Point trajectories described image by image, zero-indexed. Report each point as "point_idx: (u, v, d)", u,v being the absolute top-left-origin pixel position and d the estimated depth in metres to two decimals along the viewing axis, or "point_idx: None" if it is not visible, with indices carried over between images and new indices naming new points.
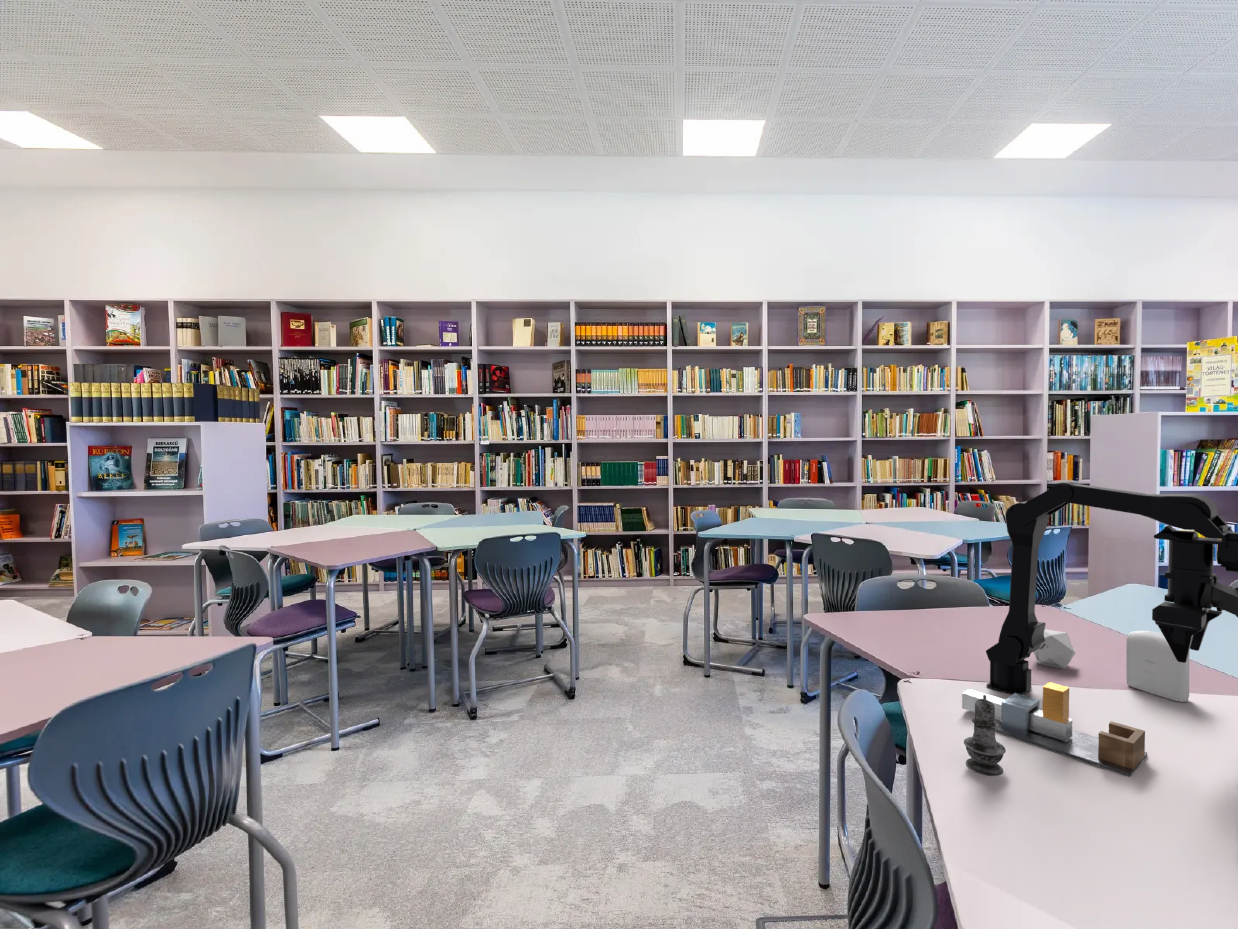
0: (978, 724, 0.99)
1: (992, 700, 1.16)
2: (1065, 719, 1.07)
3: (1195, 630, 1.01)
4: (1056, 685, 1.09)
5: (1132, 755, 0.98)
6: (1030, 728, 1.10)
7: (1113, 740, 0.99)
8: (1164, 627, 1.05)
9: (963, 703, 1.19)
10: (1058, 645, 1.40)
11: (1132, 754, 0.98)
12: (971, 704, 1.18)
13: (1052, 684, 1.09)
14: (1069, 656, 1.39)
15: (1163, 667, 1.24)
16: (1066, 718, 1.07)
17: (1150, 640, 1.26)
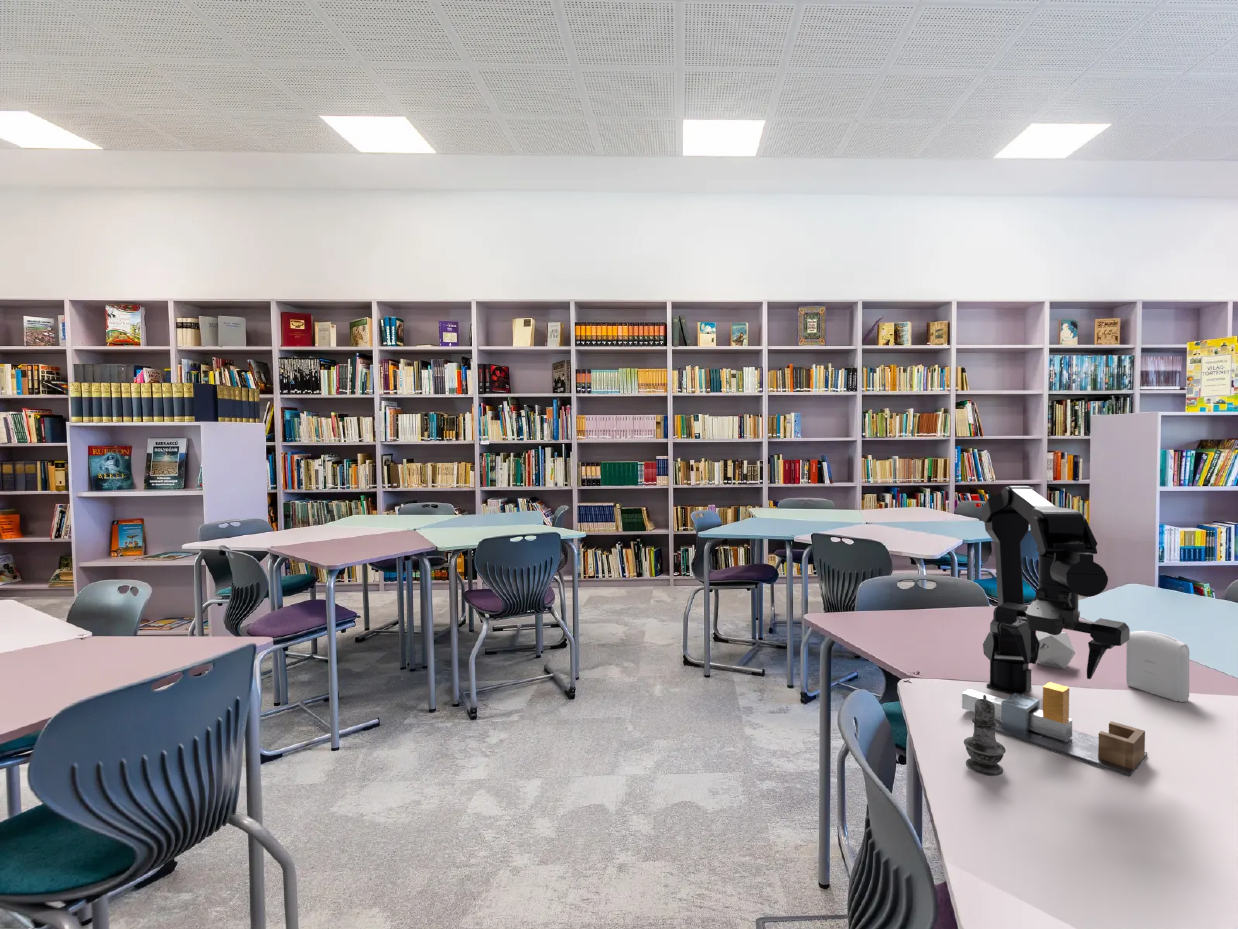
0: (978, 724, 0.99)
1: (992, 700, 1.16)
2: (1065, 719, 1.07)
3: (1001, 625, 1.13)
4: (1056, 685, 1.09)
5: (1132, 755, 0.98)
6: (1030, 728, 1.10)
7: (1113, 740, 0.99)
8: None
9: (963, 703, 1.19)
10: (1058, 645, 1.40)
11: (1132, 754, 0.98)
12: (971, 704, 1.18)
13: (1052, 684, 1.09)
14: (1069, 656, 1.39)
15: (1163, 667, 1.24)
16: (1066, 718, 1.07)
17: (1150, 640, 1.26)
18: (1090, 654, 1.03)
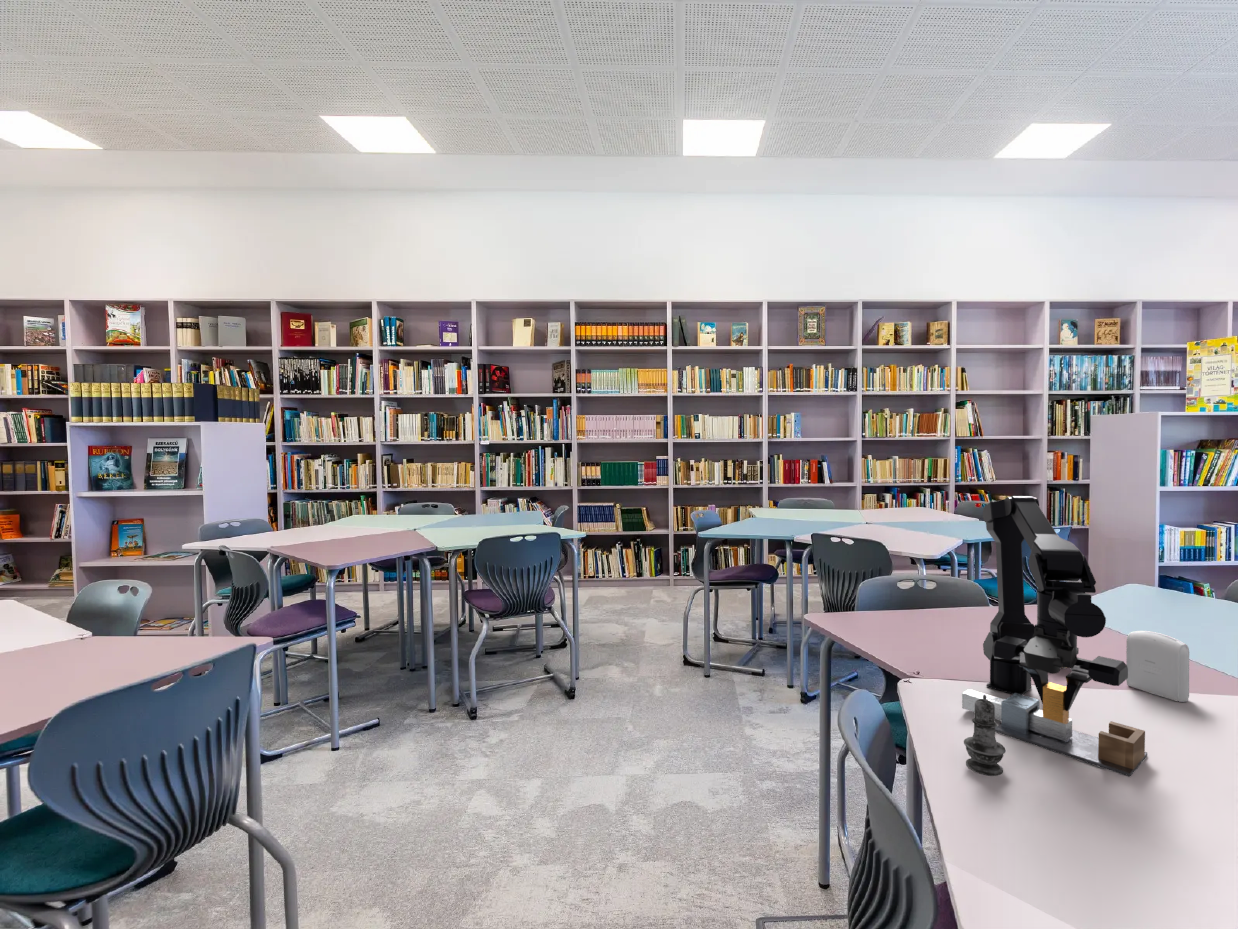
0: (978, 724, 0.99)
1: (992, 700, 1.16)
2: (1065, 719, 1.07)
3: (1018, 664, 1.11)
4: (1056, 685, 1.09)
5: (1132, 755, 0.98)
6: (1030, 728, 1.10)
7: (1113, 740, 0.99)
8: None
9: (963, 703, 1.19)
10: None
11: (1132, 754, 0.98)
12: (971, 704, 1.18)
13: (1052, 684, 1.09)
14: None
15: (1163, 667, 1.24)
16: (1066, 718, 1.07)
17: (1150, 640, 1.26)
18: (1068, 687, 1.06)
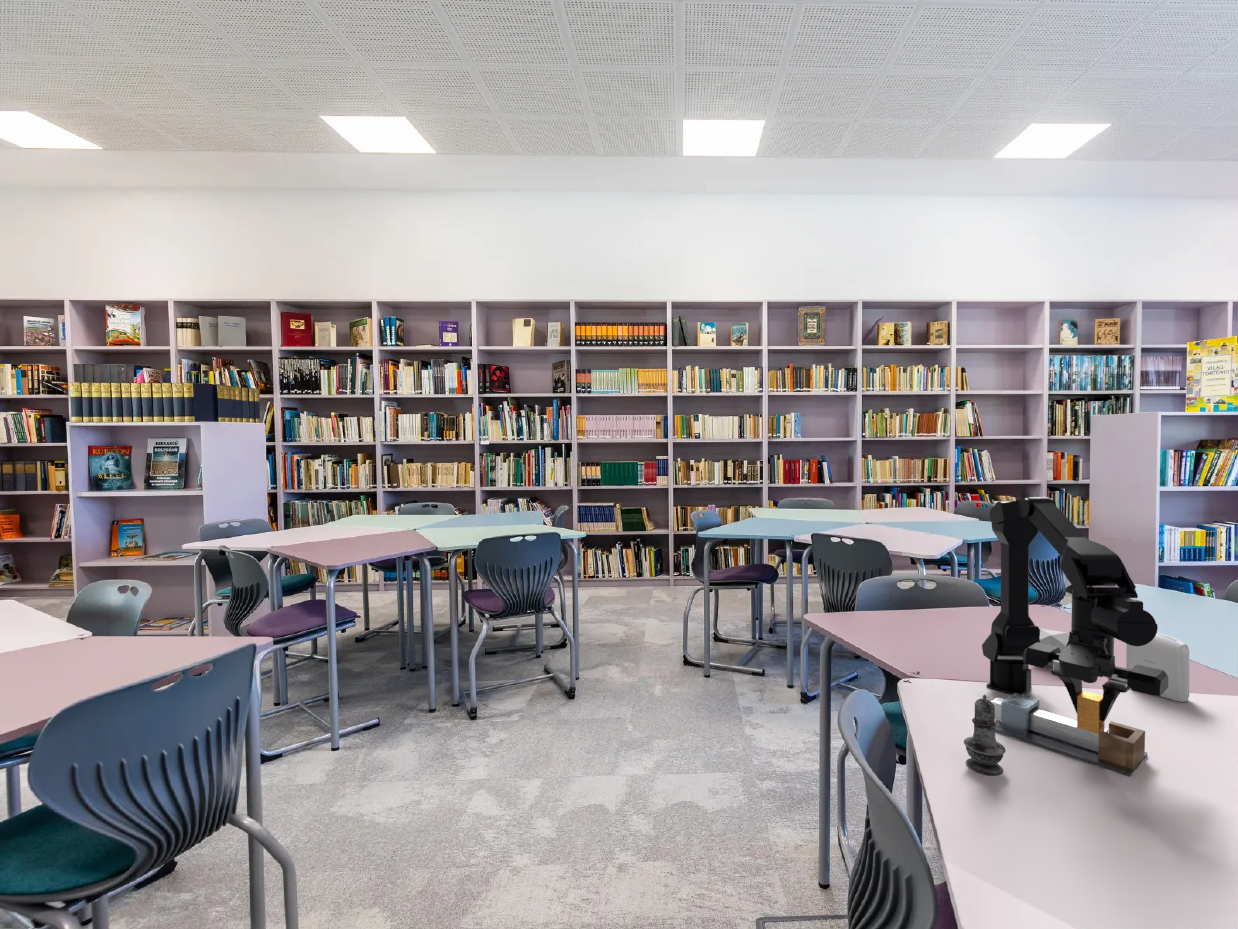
0: (978, 724, 0.99)
1: None
2: (1101, 729, 1.03)
3: (1051, 672, 1.07)
4: (1091, 694, 1.05)
5: (1132, 755, 0.98)
6: (1063, 739, 1.06)
7: (1113, 740, 0.99)
8: None
9: None
10: (1058, 645, 1.40)
11: (1132, 754, 0.98)
12: (1000, 713, 1.14)
13: (1087, 693, 1.05)
14: None
15: (1163, 667, 1.24)
16: (1102, 729, 1.03)
17: None
18: (1104, 696, 1.02)
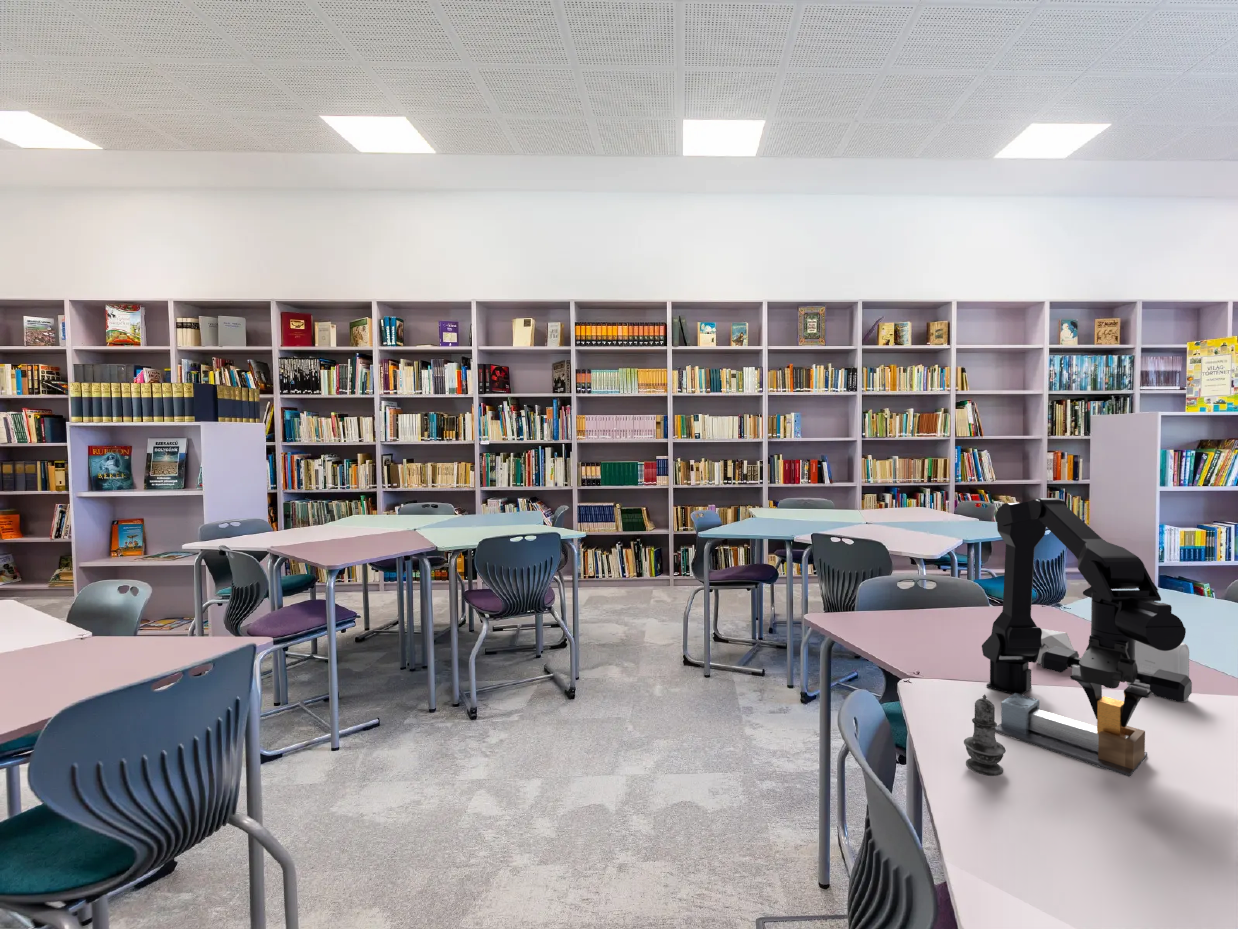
0: (978, 724, 0.99)
1: (1040, 715, 1.10)
2: (1122, 735, 1.01)
3: (1070, 677, 1.05)
4: (1111, 699, 1.03)
5: (1132, 755, 0.98)
6: (1083, 745, 1.04)
7: (1113, 740, 0.99)
8: None
9: None
10: (1058, 645, 1.40)
11: (1132, 754, 0.98)
12: None
13: (1107, 698, 1.03)
14: None
15: (1163, 667, 1.24)
16: (1123, 735, 1.01)
17: None
18: (1125, 702, 0.99)
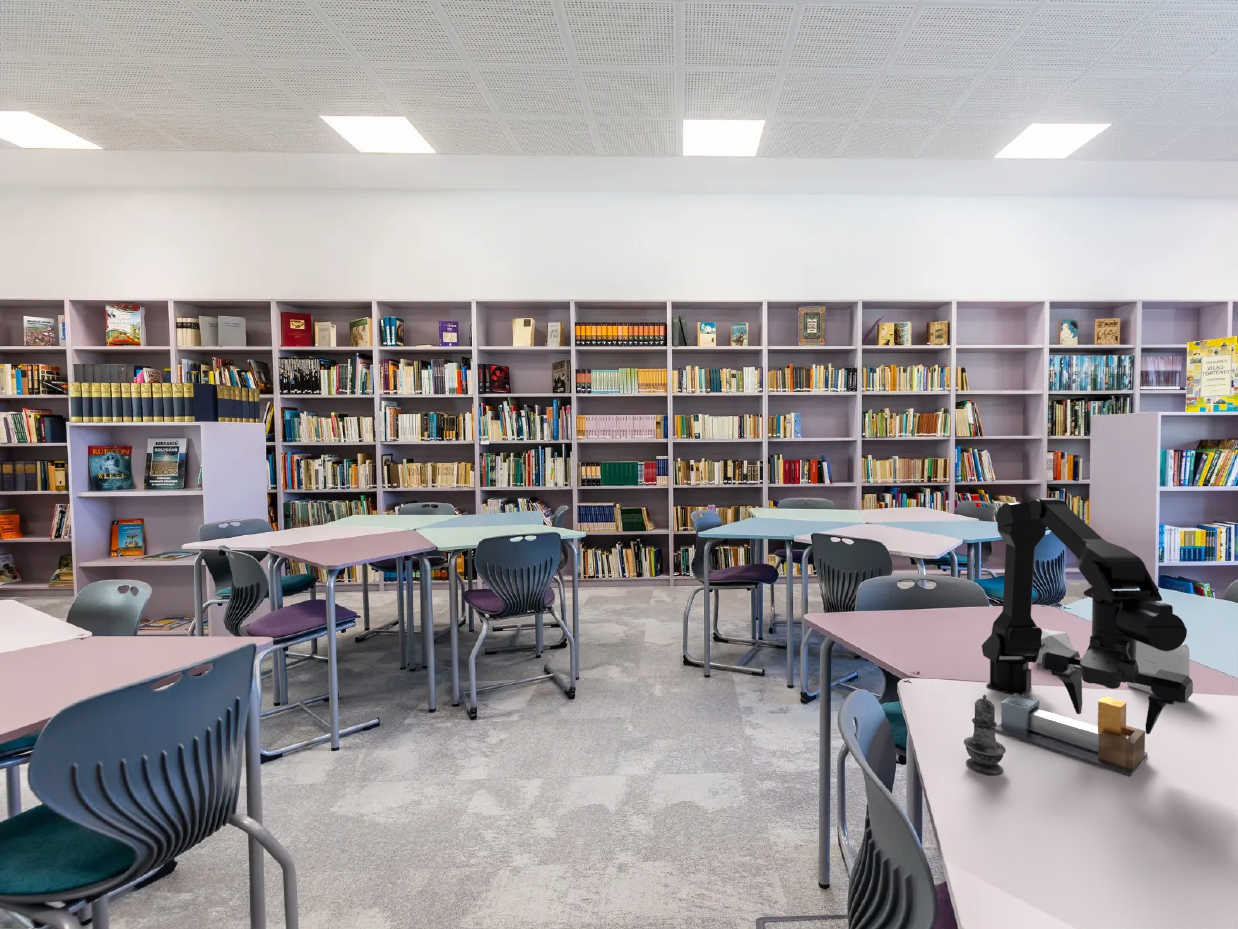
0: (978, 724, 0.99)
1: (1041, 715, 1.10)
2: (1123, 736, 1.01)
3: (1051, 672, 1.07)
4: (1112, 700, 1.03)
5: (1132, 755, 0.98)
6: (1084, 745, 1.04)
7: (1113, 740, 0.99)
8: None
9: None
10: (1058, 645, 1.40)
11: (1132, 754, 0.98)
12: None
13: (1107, 698, 1.03)
14: None
15: (1163, 667, 1.24)
16: (1123, 735, 1.01)
17: None
18: (1150, 708, 0.97)
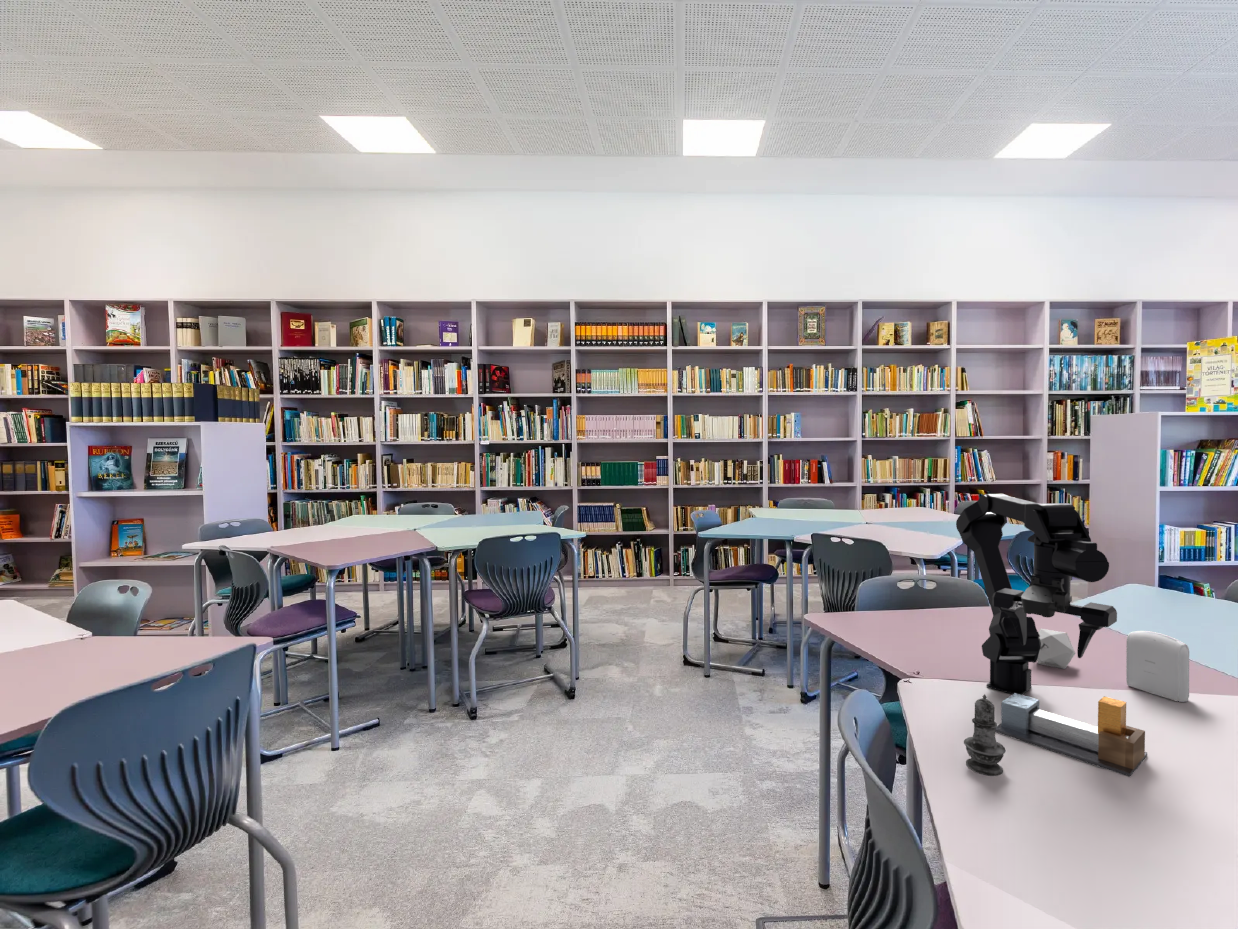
0: (978, 724, 0.99)
1: (1041, 715, 1.10)
2: (1123, 736, 1.01)
3: (999, 609, 1.22)
4: (1112, 700, 1.03)
5: (1132, 755, 0.98)
6: (1084, 745, 1.04)
7: (1113, 740, 0.99)
8: None
9: None
10: (1058, 645, 1.40)
11: (1132, 754, 0.98)
12: None
13: (1107, 698, 1.03)
14: (1069, 656, 1.39)
15: (1163, 667, 1.24)
16: (1123, 735, 1.01)
17: (1150, 640, 1.26)
18: (1080, 635, 1.12)
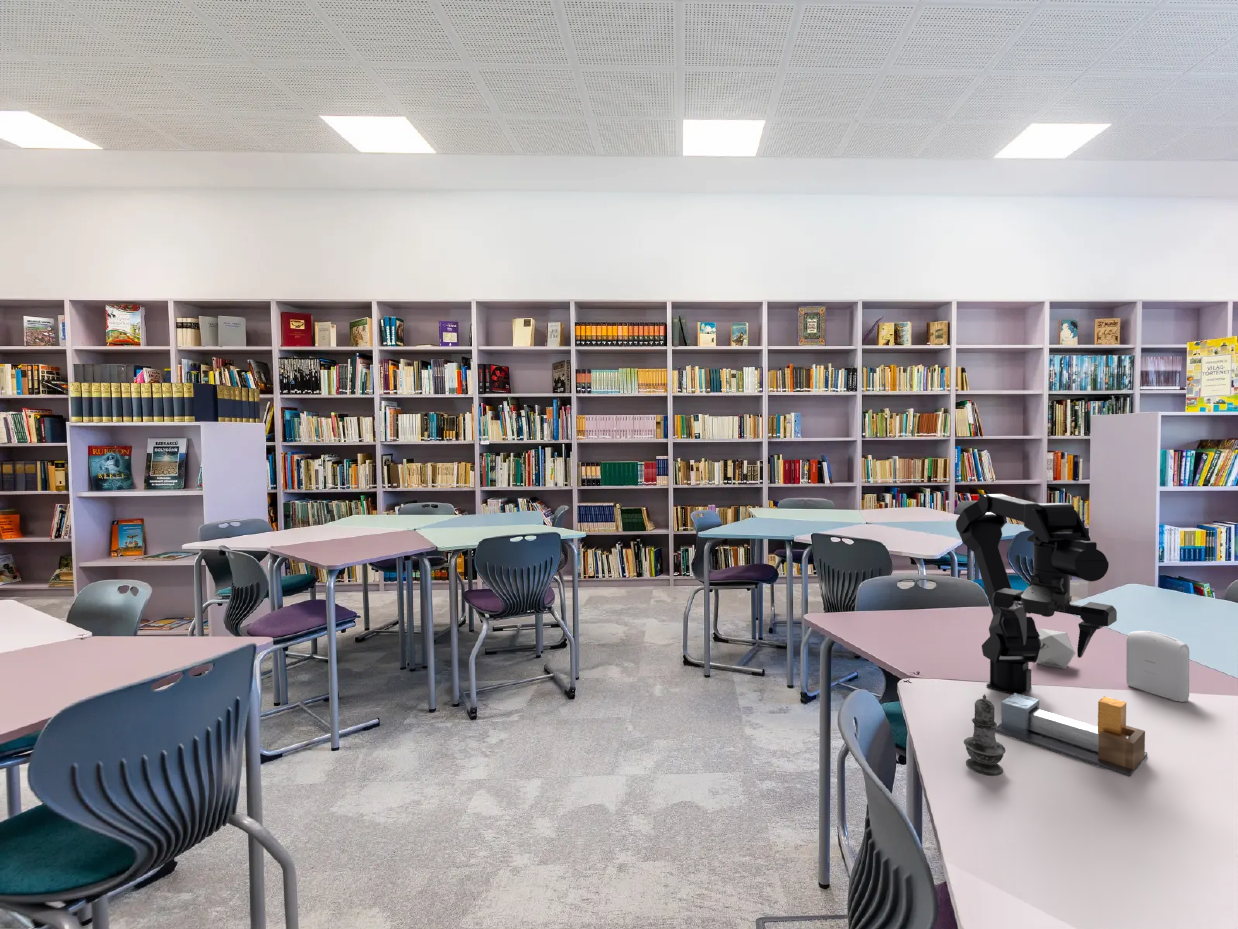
0: (978, 724, 0.99)
1: (1041, 715, 1.10)
2: (1123, 736, 1.01)
3: (999, 609, 1.22)
4: (1112, 700, 1.03)
5: (1132, 755, 0.98)
6: (1084, 745, 1.04)
7: (1113, 740, 0.99)
8: None
9: None
10: (1058, 645, 1.40)
11: (1132, 754, 0.98)
12: None
13: (1107, 698, 1.03)
14: (1069, 656, 1.39)
15: (1163, 667, 1.24)
16: (1123, 735, 1.01)
17: (1150, 640, 1.26)
18: (1080, 634, 1.12)
